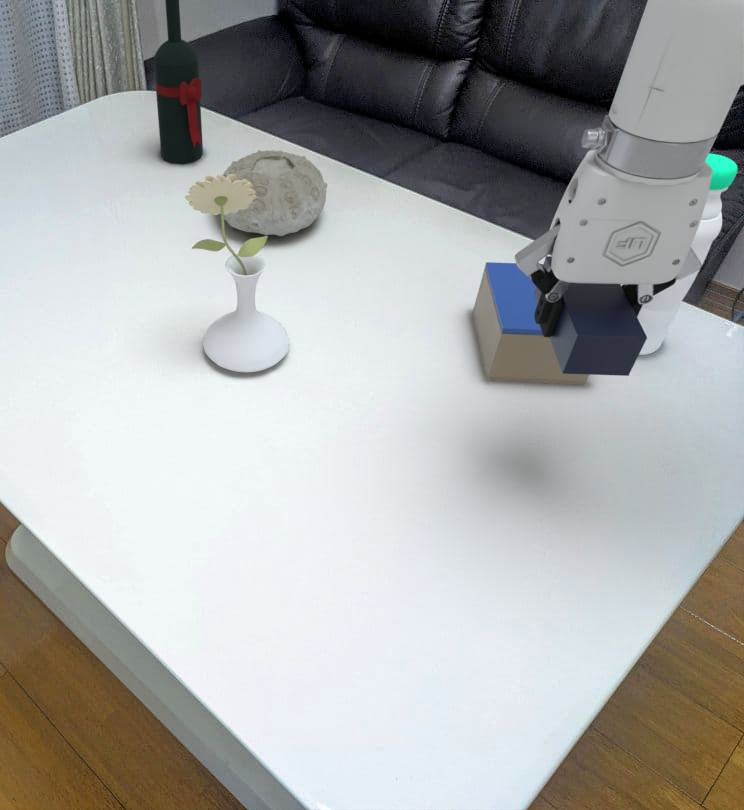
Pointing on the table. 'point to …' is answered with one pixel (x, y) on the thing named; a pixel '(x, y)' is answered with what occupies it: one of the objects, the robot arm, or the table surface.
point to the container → (515, 348)
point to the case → (596, 330)
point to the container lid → (513, 298)
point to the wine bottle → (178, 94)
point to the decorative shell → (278, 193)
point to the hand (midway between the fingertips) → (579, 327)
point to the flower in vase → (238, 285)
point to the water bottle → (667, 302)
